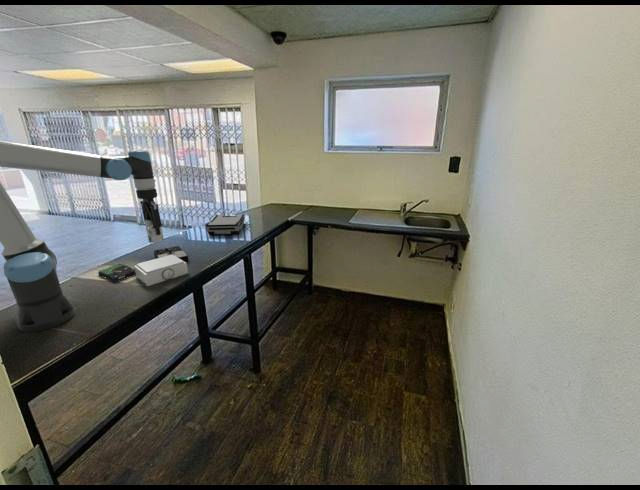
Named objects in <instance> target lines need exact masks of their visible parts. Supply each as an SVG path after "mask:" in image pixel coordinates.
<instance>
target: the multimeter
mask: <svg viewBox="0 0 640 490" xmlns="http://www.w3.org/2000/svg"><path fill="white" fill-rule="evenodd" d="M153 255H154V257H155V258H154V259H157V258H161V257H165V256H168V255H174V256H176V257H178V258H179V259H181V260H183V261H184V262H186V263H187V262H189V256H188V254H186V253H185V252H184V250H183V248H181V247H180V245H177V246H172V247H167V248H166V247H165V248H160V249H156V250H153Z"/></svg>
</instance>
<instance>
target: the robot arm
mask: <svg viewBox="0 0 640 490" xmlns="http://www.w3.org/2000/svg"><path fill="white" fill-rule="evenodd" d="M0 168H9V169H20V170H28V171H35V172H36V171H37V172H38V171H39V172H48V173H55V174H57V173H59V174H67V175H76V176H86V177H94V178H95V177H96V178H104V179H112V180H115V181H125V180H127V179H129V178H130V177H131V176H132V178H133V184H134V188H135V189H136V190H135V192H136V197H137V198H138V199H139V200H140V201H139V202H140V206H141V210H142V216H143V222H144V223H145V220H148V219H151V220H152V224H153V227H152V229H153V232H154V237H155V242H156V243H161V242H163V241H164V240H162V235H161V230H160V227H161V228H162V227H163V225H162V220H161V216H160V215H161V214H160V211H159V204H157V203H156V202H155V198H157V197H158V192H157V188H156V182H157V181H156V179H155V178H154V171H153V165H152V160H151V157H150V153H149V152H148V151H147V150H129V151H127V155H124V156H123V155H121V156H120V155H119V156H115V155H114V156H111V155H110V156H109V155H108V156H106V155H105V156H104V155H98V154H91V153H85V152H80V151H79V152H78V151H71V150H65V149H59V148H58V149H57V148H51V147H46V146H45V147H44V146H38V145H30V144H24V143H17V142H10V141H5V140H0ZM160 241H161V242H160ZM0 244H1V245H2V246H3V250H2V252H1V256H2V257H3V258H4V260H5V262H4V264H3V267H2V269H3V273H4V276H5V277H6V279H7V282H8V284H9V286H10V289H11V290H10V291H11V292H12V295H13V297H14V299H15V302H16V304H17V314H16V315H17V317H16V325H17V328H18V329H19V331H21V332H25V333H33V332H41V331H45V330H49V329H51V328H54V327H57V326H59V325H61V324H64V323H65V322H67V321H69V320H70V319H72V317H74V316H75V315H76V308H75V306H74V304H73V303H72V302H71V301H70V300H69V299H68V298H67V297H66V295H64V293H63V290H62V286H61V283H60V281H59V277H58V274H57V265H58V261H57V257H56V255H55V253H54V252H53V251H52V250H51V249H49V246H48V245H47V244H46V243H45V241H44V240H43V239H41V238H38V237H36V236H35V234H34V233H33V231H32V230H31V228H30V227H29V225H28V224H27V222H26V220H25V218H23V216H22V214H21V212H20V211H19V209H18V208H17V206H16V205H15V203H14V201H13V200H12V198H11V197H10V195H9V194H8V192H7V190H6V188H5V187H4V185H3V184H2V182H1V181H0Z"/></svg>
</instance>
